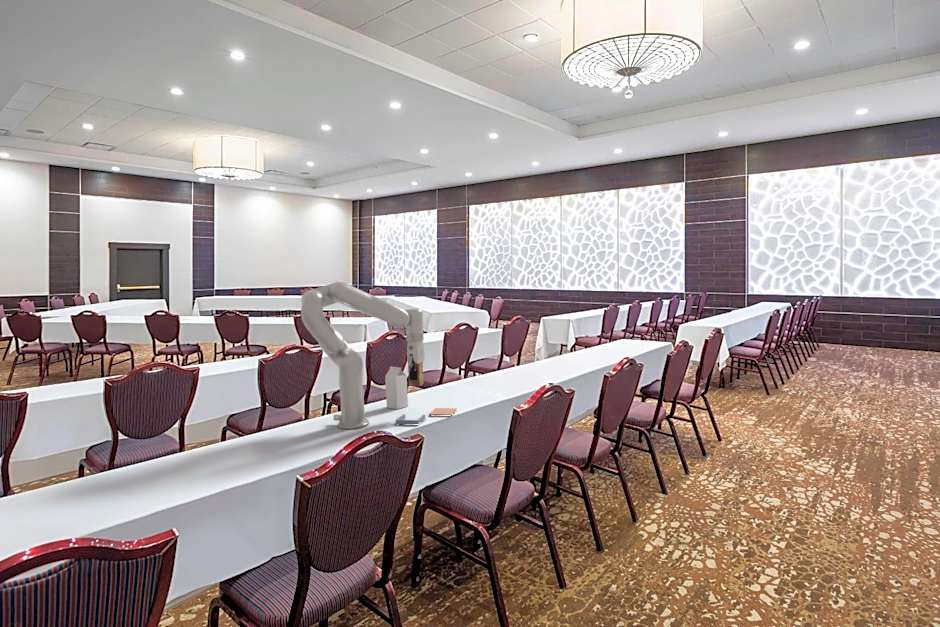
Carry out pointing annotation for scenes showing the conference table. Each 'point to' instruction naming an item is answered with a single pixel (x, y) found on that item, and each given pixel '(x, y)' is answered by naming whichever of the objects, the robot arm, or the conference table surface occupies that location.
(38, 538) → the conference table surface
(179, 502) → the conference table surface
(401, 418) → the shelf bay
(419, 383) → the walnut block
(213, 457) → the conference table surface
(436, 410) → the terracotta tile
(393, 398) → the milk carton
